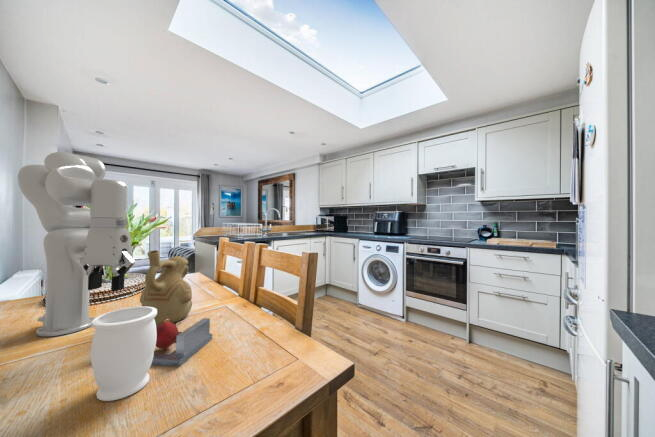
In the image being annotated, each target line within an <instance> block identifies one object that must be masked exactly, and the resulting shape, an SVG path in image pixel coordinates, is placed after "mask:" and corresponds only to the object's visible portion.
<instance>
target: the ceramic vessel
mask: <svg viewBox="0 0 655 437" xmlns="http://www.w3.org/2000/svg"><path fill="white" fill-rule="evenodd" d="M147 256H148V259H149V267H148V269H147V270H146V274H145V276H144V277H145V278H144V281H145V285H146V286H145V287H144V288H143V290H142V291H141V294H140V297H139V303H141V306H149V307H155V308H156V309H157V315H156V316H155V317H154V320H155V323H156V327H158V326H160V325H161V324H162V323H163V322H164V321H165V320H166V319H170V321H169V322H171V323H173V324H175V323H178V322H179V321H182V320H183V319H185V318H186V317H187V316H188V314H189V313H190V312H191V309H192V307H193V306H192V305H193V301H192V298H193V293H192V292H193V291H192V286H191V285H190V283H189V282H187V281H186V280H185V279H184V278H185V277H186V276H187V274H188V272H189V267H190V266H188V264H189V260H188V259H187V258H185V257H183V256H179V255H177V256H173V257H169V258H168V259H162V260H161V258H160V250H156V249H155V250H150V251H148V252H147ZM159 270H160V272H161V273H160V274H159V275H158V276H157V273H158V271H159ZM156 276H157V277H156Z"/></svg>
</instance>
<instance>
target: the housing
mask: <svg viewBox="0 0 655 437" xmlns="http://www.w3.org/2000/svg"><path fill="white" fill-rule="evenodd" d="M210 323H211V318H205V317H204V318H201V319H200V320H199V321H197V322H195V323H193V324H192V325H191V326H189V327H188V328H186V329H185V330H183V331H178V335H177V336H176V341H175V343H176V344H175V350H173V351H172V352H170V353H168V354H167V353H159V352H158V353H157V352H156V353H155V352H154V356H153V360H152V364H151V366H160V367H161V366H162V367H177V368H180V366H182V365H183V364H184V363H185V362H187V361H188V360H189V359H190V358H191V357H193V356H194V355H195V354H196V353H198V351H200V350H201V349H202V348H203V347H204V346H205V345H207V344H208V343H209V342H210V341H211V340H213V333H211V332H210V331H211V330H210V326H211V325H210Z"/></svg>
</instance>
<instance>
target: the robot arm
mask: <svg viewBox="0 0 655 437" xmlns="http://www.w3.org/2000/svg"><path fill="white" fill-rule="evenodd" d="M43 160H44V162H43V164H28V165H24V166H23V167H21V168H20V169H19V170H18V174H17V181H18V182H17V183H18V186H19V189H20V191H21V193H22V195H23V196H24V197H25V198H26V200H27V201H28V202H29V203H30V204H31V205H32V206H33V207H34V208H35V211H36V213H37V216H38V219H39V220H40V223H41V226H42V227H43V229H44V230H45V232H47V233H46V234H45V236H44V237H43V243H42V245H43V250H44V254H45V260H46V288H45V310H44V311H45V313H44V314H43V316H40V317H38V318H37V322H42V326H41V327H39V328H37V329H36V335H37V336H38V337H43V338H44V337H57V336H62V335H67V334H71V333H75V332H79V331H82V330H85V329H87V328H89V327H92V323H93V320H94V319H95V318H96V317H93V316H90V296H91V295H90V292H91V291H92V290H96V289H101V288H102V287H103V273H102V268H103V267H111V271H112V274H113V275H112V276H111V281H110V282H111V285H110V286H111V288H110V291H112V292H118V291H119V290H122V289H124V288H125V275H127V274H128V272H129V270H130V269H131V268H132V267H133V266H134V265H135V263H136V261H135V259H134V258H132V256H133V255H132V251H133V250H132V240H131V235H130V231H129V229H127V225H128V224H129V221H128V220H127V214H128V213H127V209H128V184H126V183H125V182H124V181H121V180H116V179H109V178H108V179H107V178H105V176H106V166H105V164H104V163H103V162H102V160H100V159H98V158H96V157H92V156H91V157H90V156H85V155H81V154H76V153H70V152H66V151H57V152H52V153H49V154H48V155H46V156H45V158H44V159H43ZM75 206H77V207H75ZM78 206H80V207H78ZM81 206H83V208H82V207H81ZM85 207H89V208H85Z"/></svg>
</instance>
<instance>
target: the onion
mask: <svg viewBox="0 0 655 437" xmlns="http://www.w3.org/2000/svg"><path fill="white" fill-rule="evenodd" d="M169 321H170V319H166V320H165V321H164V322H163V323H162V324H161V325H160V326H157V327H156V330H157V339H156V346H155V348H158V349H160V350H168V349H169V348H170V347H171V346H173V344H174V343H176V336H177V335H178V332H179V329H178V326H177V325H176V324H175V323H171V322H169Z"/></svg>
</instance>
